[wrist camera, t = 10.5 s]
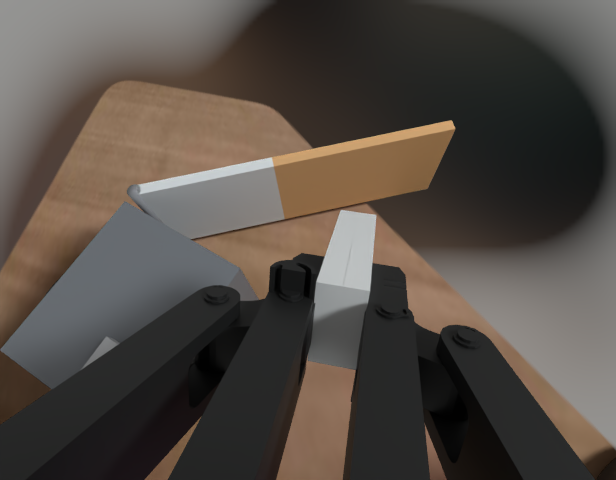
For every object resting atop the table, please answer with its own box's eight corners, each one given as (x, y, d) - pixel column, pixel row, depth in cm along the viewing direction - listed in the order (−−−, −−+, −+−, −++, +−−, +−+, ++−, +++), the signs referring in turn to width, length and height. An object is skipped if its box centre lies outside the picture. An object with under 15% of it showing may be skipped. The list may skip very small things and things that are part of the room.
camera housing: (261, 304, 36) (237, 263, 26) (178, 432, 33) (112, 443, 22) (162, 245, 39) (105, 187, 29) (75, 358, 35) (-27, 337, 25)
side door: (424, 180, 39) (451, 119, 31) (427, 189, 39) (455, 129, 31) (169, 234, 38) (126, 186, 30) (170, 244, 38) (127, 198, 29)
